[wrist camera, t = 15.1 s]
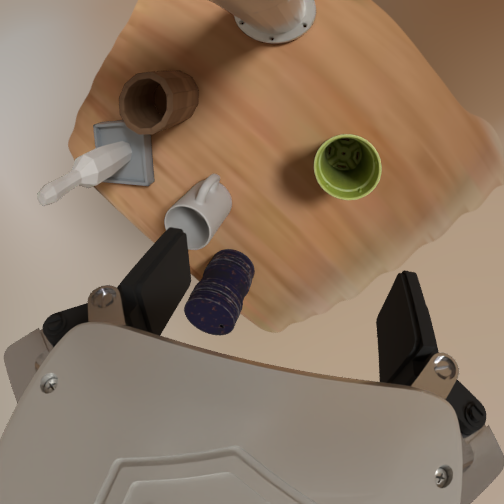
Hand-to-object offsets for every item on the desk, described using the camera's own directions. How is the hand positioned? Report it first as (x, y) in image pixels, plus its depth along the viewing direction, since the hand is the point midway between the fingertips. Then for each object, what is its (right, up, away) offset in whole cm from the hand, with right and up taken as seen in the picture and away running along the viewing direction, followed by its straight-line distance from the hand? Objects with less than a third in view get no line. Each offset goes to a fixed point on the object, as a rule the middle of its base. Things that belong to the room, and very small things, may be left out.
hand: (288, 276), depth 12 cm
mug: (-9, +12, +40) cm, 43 cm away
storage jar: (-6, -2, +49) cm, 50 cm away
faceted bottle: (-27, +21, +38) cm, 51 cm away
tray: (-27, +22, +39) cm, 52 cm away
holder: (-15, +28, +31) cm, 44 cm away
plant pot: (+13, +17, +30) cm, 37 cm away
